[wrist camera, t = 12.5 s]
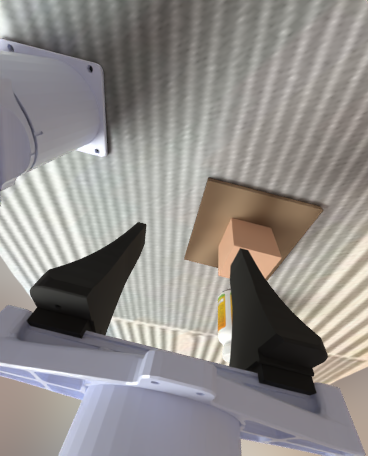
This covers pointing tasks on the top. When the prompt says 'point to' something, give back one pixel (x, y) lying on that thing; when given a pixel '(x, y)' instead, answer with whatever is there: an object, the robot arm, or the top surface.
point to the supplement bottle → (225, 323)
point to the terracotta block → (248, 246)
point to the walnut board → (246, 219)
